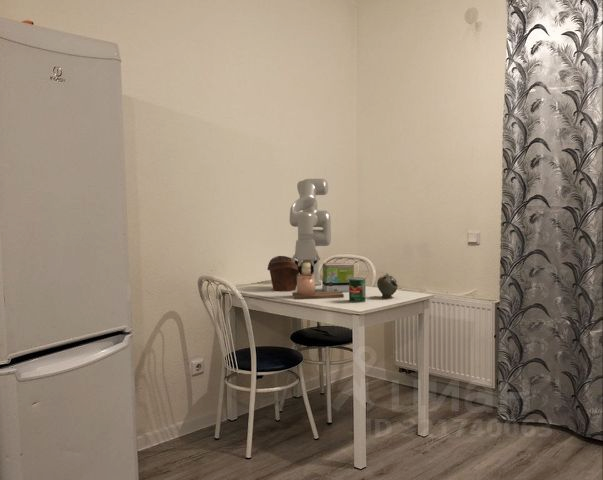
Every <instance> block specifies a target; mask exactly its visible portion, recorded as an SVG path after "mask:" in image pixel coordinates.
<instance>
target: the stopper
mask: <svg viewBox="0 0 603 480" xmlns="http://www.w3.org/2000/svg"><path fill="white" fill-rule="evenodd" d="M301 275H311V262H308V260H303V262H302V261H301Z"/></svg>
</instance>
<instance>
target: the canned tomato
mask: <svg viewBox="0 0 603 480" xmlns="http://www.w3.org/2000/svg"><path fill="white" fill-rule="evenodd" d="M348 298H349V299H348V300H349V302H350V303H355V304H356V303H358V304H359V303H366V278H365V277H357V276H354V277H353V278H349V292H348Z"/></svg>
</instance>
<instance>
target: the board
mask: <svg viewBox="0 0 603 480" xmlns="http://www.w3.org/2000/svg"><path fill="white" fill-rule="evenodd" d="M292 296H293V298H294V299H295V300H314V299H342V298H344V297H345V295H344V293H343V292H339V291H324V290H322V291H315V294H314V295H297V291H296V292H292Z"/></svg>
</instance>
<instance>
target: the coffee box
mask: <svg viewBox="0 0 603 480" xmlns="http://www.w3.org/2000/svg"><path fill="white" fill-rule="evenodd" d="M321 277H322V281H321V286H322V288H321V289H322V291H339V292H341V293H349V278H353V277H355V265H354V264H352V263H350V262H324V263H322V276H321Z"/></svg>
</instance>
